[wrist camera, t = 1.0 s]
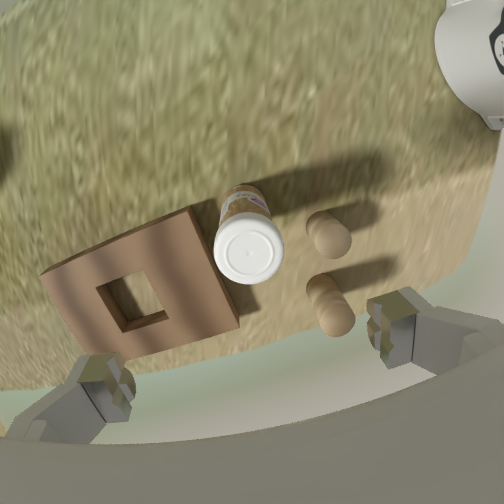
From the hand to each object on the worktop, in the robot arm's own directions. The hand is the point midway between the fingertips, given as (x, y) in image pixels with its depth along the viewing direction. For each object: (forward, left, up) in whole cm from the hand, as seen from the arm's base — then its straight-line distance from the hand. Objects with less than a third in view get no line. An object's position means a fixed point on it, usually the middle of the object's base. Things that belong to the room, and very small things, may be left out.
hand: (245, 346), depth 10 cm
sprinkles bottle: (0, +1, -25) cm, 25 cm away
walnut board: (+15, +6, -24) cm, 29 cm away
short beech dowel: (-7, +6, -24) cm, 26 cm away
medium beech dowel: (-5, +13, -24) cm, 28 cm away
